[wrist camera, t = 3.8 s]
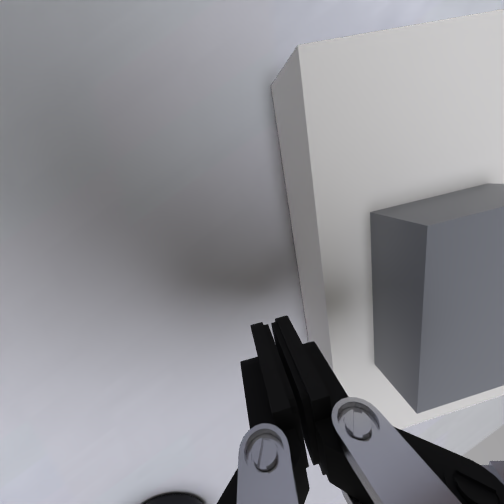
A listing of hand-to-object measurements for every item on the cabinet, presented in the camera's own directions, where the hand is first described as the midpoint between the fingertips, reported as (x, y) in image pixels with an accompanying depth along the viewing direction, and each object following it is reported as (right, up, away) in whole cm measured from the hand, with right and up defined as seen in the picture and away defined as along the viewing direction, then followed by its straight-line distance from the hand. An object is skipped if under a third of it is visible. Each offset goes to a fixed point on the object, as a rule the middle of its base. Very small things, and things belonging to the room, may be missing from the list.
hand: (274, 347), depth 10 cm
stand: (+9, +4, +6) cm, 11 cm away
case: (+8, +3, +2) cm, 9 cm away
